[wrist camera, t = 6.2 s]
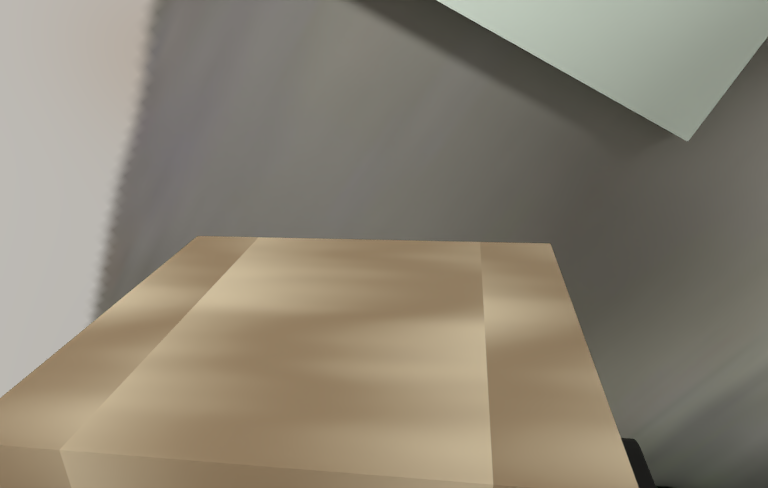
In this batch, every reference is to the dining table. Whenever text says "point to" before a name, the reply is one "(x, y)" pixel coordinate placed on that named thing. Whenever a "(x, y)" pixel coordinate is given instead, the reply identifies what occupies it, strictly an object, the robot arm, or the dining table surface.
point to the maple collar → (324, 375)
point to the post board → (636, 47)
